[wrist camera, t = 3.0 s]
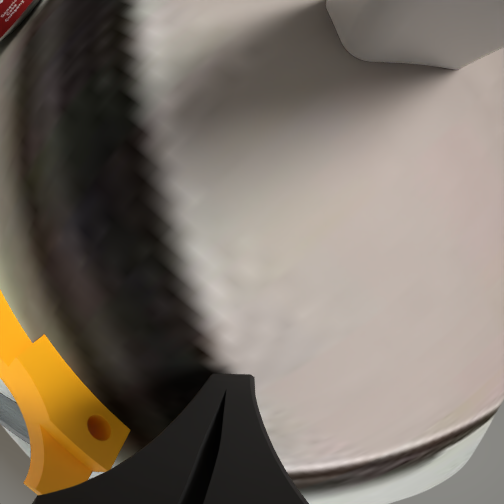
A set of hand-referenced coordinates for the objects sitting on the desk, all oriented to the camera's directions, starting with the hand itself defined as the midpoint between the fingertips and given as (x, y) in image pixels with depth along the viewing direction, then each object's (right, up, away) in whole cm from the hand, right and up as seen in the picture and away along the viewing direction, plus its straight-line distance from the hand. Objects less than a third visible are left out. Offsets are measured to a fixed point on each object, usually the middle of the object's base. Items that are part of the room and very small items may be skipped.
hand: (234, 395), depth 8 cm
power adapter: (+6, +13, -2) cm, 14 cm away
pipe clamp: (-11, -1, +2) cm, 11 cm away
